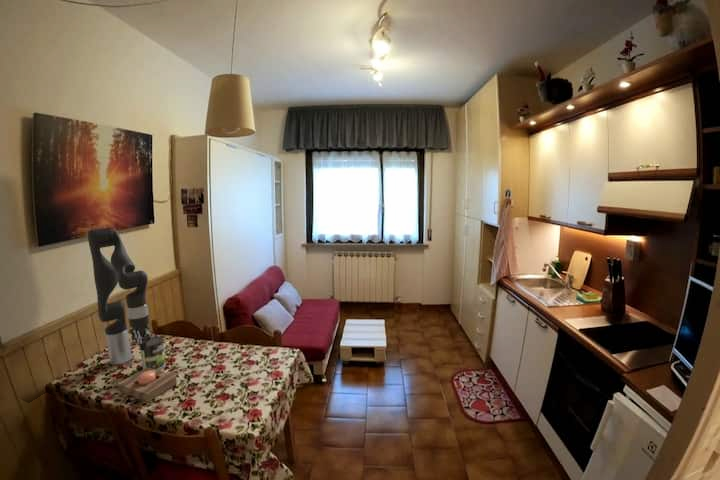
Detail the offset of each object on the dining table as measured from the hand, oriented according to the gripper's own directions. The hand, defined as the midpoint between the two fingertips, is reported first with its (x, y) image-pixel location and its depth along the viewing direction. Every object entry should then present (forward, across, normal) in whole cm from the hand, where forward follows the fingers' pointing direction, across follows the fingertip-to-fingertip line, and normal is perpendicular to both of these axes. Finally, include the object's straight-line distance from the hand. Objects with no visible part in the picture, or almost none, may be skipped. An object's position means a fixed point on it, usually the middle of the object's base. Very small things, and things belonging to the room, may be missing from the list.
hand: (143, 349), depth 143 cm
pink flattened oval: (+17, 0, 0) cm, 17 cm away
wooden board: (+19, 0, 0) cm, 19 cm away
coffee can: (+19, -14, +13) cm, 27 cm away
